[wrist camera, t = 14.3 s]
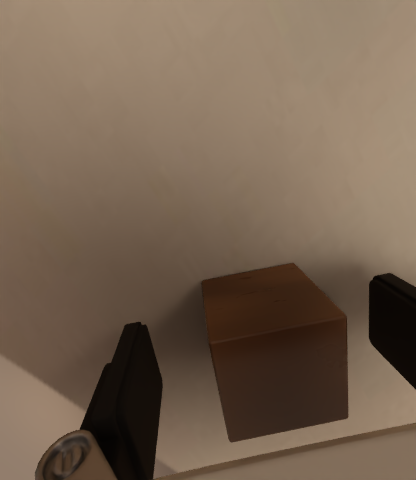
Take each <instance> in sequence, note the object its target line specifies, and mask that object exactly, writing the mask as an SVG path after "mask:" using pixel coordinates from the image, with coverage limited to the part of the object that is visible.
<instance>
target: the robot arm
mask: <svg viewBox="0 0 416 480" xmlns="http://www.w3.org/2000/svg"><path fill="white" fill-rule="evenodd" d="M369 340H370V342H371V344H372V345H373V346H374V347H375V348H376V349H377V350H378V351H379V353H380V354H381V355H382V356H383V357H384V358H385V359H386V360H387V361H388V362H389V363H390V364H391V365H392V366H393V367H394V368H395V369H396V370H397V371H398V372H399V373H400V374H401V375H402V376H403V377H404V378H405V379H406V380H407V381H408V382H409V383H410V384H411V385H412V386H413V387H414V388H415V389H416V287H414V286H413V285H411V284H409V283H407V282H406V281H404V280H402V279H400V278H399V277H397V276H395V275H393V274H391V273H387V274H382V275H377V276H374V277H373V280H371V281H370V284H369ZM162 388H163V383H162V377H161V373H160V370H159V366H158V363H157V359H156V356H155V353H154V349H153V346H152V342H151V339H150V335H149V332H148V328H147V326H146V325H142V324H141V322H136V323H130V324H126V325H125V326H124V329H123V332H122V334H121V337H120V340H119V343H118V345H117V348H116V351H115V353H114V356H113V359H112V362H111V363H107V364H106V365H105V367H104V369H103V371H102V374H101V376H100V379H99V381H98V384H97V386H96V389H95V392H94V394H93V397H92V399H91V402H90V404H89V407H88V409H87V412H86V414H85V417H84V420H83V422H82V425H81V427H80V430H76V431H73V432H70V433H67V434H66V435H64V436H63V437H61V438H59V439H58V440H57V441H56V442H55V443H54V444H52V445H51V446H50V447H49V448H48V450H47V451H46V452H45V453H44V454H43V456H42V458H41V460H40V461H39V463H38V466H37V469H36V472H35V480H416V423H412V424H407V425H402V426H397V427H392V428H387V429H382V430H377V431H372V432H367V433H362V434H357V435H353V436H348V437H343V438H338V439H333V440H328V441H324V442H319V443H314V444H309V445H304V446H299V447H295V448H290V449H285V450H280V451H276V452H271V453H266V454H262V455H257V456H252V457H247V458H243V459H238V460H233V461H229V462H224V463H219V464H215V465H210V466H206V467H202V468H197V469H193V470H189V471H184V472H180V473H176V474H172V475H167V476H163V477H159V478H156V479H153V473H154V464H155V455H156V445H157V436H158V426H159V417H160V407H161V398H162Z"/></svg>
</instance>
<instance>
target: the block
mask: <svg viewBox="0 0 416 480" xmlns="http://www.w3.org/2000/svg"><path fill="white" fill-rule="evenodd" d="M201 284H202V292H203V301H204V309H205V318H206V326H207V335H208V343H209V348H210V353H211V358H212V363H213V367H214V372H215V377H216V382H217V386H218V391H219V396H220V401H221V405H222V410H223V415H224V420H225V425H226V429H227V434H228V439H229V441H230V442H236V441H241V440H246V439H251V438H256V437H261V436H265V435H270V434H275V433H280V432H285V431H290V430H295V429H299V428H304V427H309V426H314V425H319V424H324V423H329V422H333V421H338V420H343V419H347V418H348V362H347V317H346V315H345V314H344V313H343V312H342V311H341V310H340V309H339V308H338V307H337V306H336V305H335V304H334V303H333V302H332V301H331V300H330V299H329V298H328V297H327V296H326V295H325V294H324V293H323V292H322V291H321V290H320V289H319V288H318V287H317V286H316V285H315V284H314V283H313V282H312V281H311V280H310V279H309V278H308V277H307V276H306V275H305V274H304V273H303V272H302V271H301V270H300V269H299V268H298V267H297V266H296V265H295V264H294V263H290V264H285V265H280V266H275V267H270V268H264V269H259V270H254V271H249V272H244V273H239V274H233V275H228V276H223V277H218V278H213V279H208V280H203V281H202V283H201Z"/></svg>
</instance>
